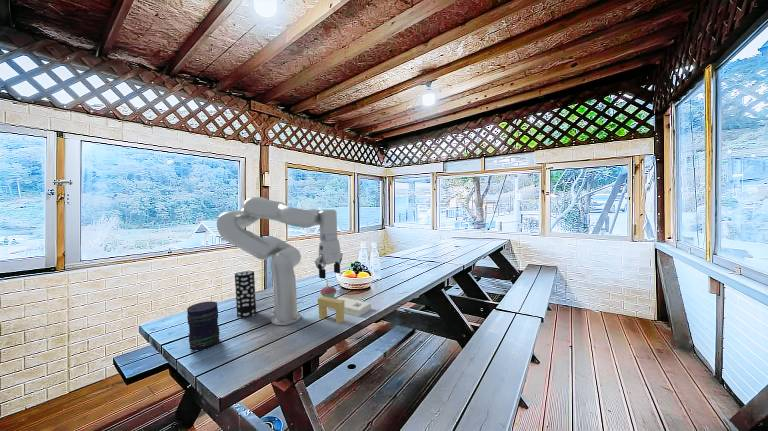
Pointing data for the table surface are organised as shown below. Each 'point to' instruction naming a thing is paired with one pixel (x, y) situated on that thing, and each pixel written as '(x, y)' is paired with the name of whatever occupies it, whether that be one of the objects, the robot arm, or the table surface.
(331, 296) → the cupcake
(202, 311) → the storage jar
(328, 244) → the robot arm
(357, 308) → the white slab with recess
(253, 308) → the white-spotted black cylinder
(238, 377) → the table surface
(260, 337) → the table surface
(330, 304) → the yellow arch block
